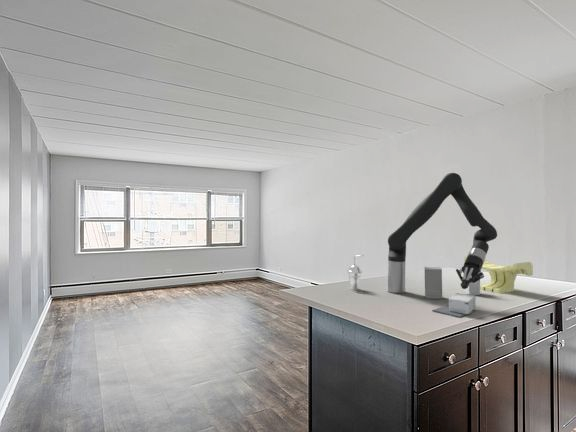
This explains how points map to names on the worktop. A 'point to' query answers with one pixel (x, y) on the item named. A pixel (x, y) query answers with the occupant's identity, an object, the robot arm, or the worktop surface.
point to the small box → (473, 288)
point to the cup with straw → (354, 275)
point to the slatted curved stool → (504, 276)
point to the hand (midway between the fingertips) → (463, 287)
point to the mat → (446, 311)
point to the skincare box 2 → (462, 303)
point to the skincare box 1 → (433, 282)
